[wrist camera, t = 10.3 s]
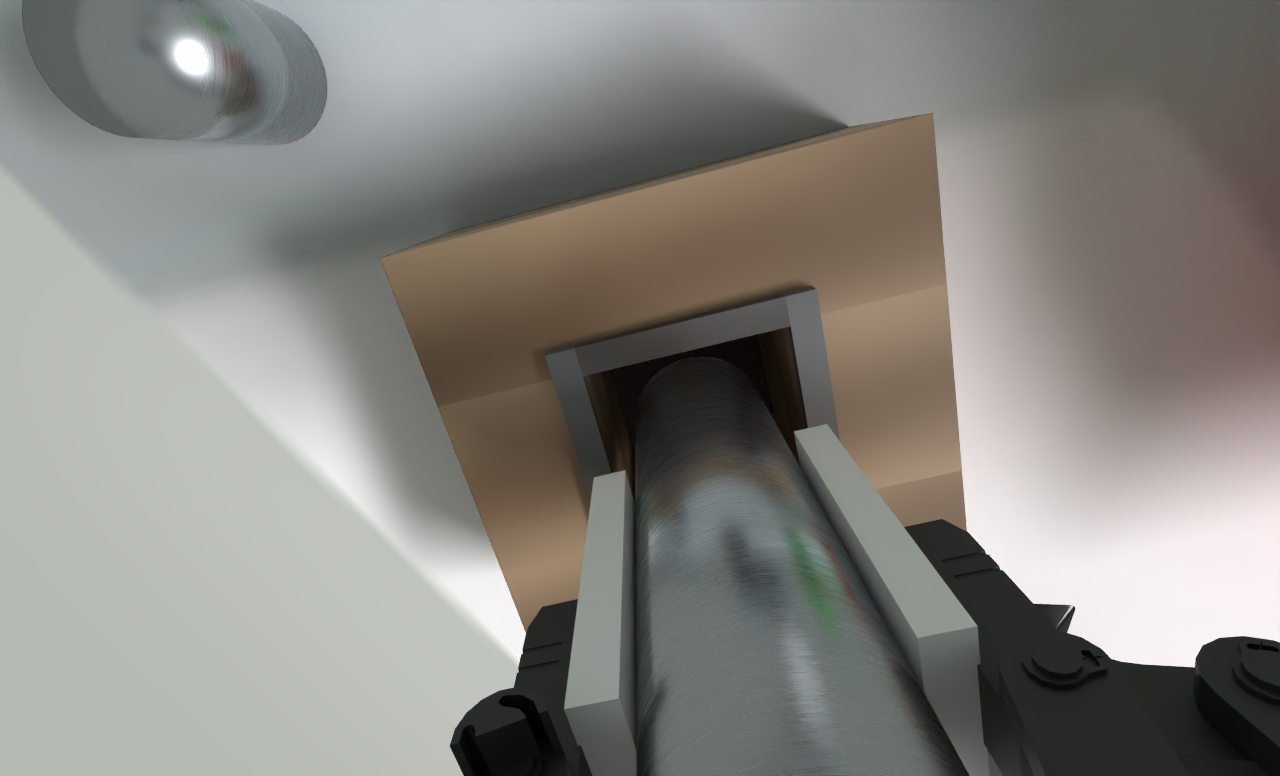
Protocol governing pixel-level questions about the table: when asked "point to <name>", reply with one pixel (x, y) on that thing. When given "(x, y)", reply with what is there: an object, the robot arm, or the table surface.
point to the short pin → (179, 68)
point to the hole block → (693, 329)
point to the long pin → (756, 605)
